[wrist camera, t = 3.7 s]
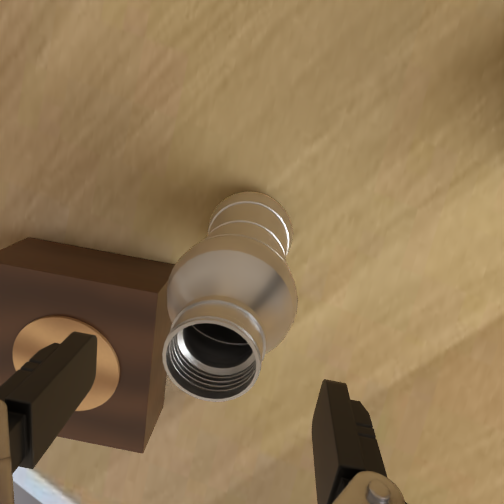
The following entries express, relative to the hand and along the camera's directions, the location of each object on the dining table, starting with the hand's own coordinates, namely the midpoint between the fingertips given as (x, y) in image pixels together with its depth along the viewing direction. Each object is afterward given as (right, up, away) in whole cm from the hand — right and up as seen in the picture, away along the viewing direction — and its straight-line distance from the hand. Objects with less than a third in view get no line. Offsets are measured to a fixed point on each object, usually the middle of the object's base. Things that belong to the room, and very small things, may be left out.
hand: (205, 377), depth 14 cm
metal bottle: (+2, +7, +20) cm, 21 cm away
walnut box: (-13, -3, +24) cm, 28 cm away
